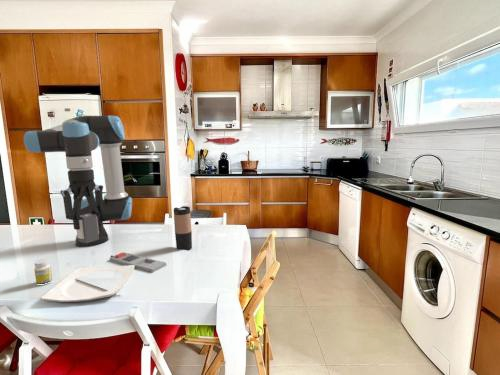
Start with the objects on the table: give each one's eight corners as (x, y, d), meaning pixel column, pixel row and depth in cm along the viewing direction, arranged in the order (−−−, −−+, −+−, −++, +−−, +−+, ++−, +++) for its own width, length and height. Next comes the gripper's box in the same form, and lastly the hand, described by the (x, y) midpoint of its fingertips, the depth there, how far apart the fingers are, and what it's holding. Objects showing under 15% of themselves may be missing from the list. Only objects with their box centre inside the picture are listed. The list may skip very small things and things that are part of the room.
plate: (116, 303, 90) (115, 295, 90) (35, 308, 88) (34, 300, 88) (139, 269, 114) (138, 263, 114) (76, 273, 112) (75, 267, 112)
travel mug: (188, 252, 131) (185, 210, 128) (173, 251, 132) (170, 209, 129) (194, 246, 138) (192, 206, 135) (180, 245, 140) (177, 206, 137)
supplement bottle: (42, 280, 107) (38, 259, 105) (55, 279, 107) (52, 258, 106) (33, 286, 102) (30, 264, 101) (47, 285, 102) (44, 263, 101)
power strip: (104, 261, 123) (103, 254, 122) (118, 255, 129) (117, 249, 128) (153, 274, 108) (152, 267, 108) (166, 267, 114) (166, 260, 114)
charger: (78, 241, 98) (75, 216, 97) (91, 237, 102) (88, 213, 100) (86, 243, 96) (83, 217, 94) (99, 239, 100) (96, 214, 98)
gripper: (58, 172, 86) (68, 245, 89) (111, 167, 101) (117, 230, 104) (45, 171, 89) (55, 242, 93) (98, 167, 104) (104, 227, 108)
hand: (88, 235), depth 99 cm, fingers closed on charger, 4 cm apart
